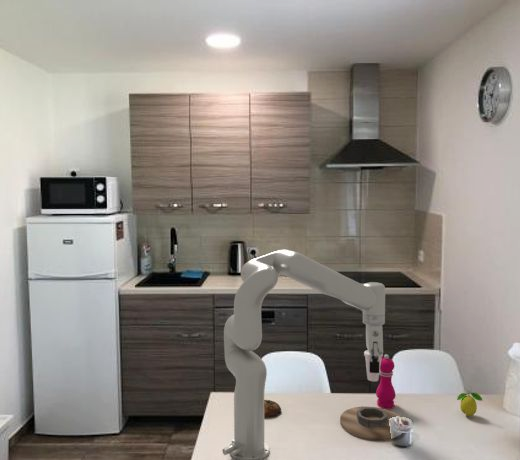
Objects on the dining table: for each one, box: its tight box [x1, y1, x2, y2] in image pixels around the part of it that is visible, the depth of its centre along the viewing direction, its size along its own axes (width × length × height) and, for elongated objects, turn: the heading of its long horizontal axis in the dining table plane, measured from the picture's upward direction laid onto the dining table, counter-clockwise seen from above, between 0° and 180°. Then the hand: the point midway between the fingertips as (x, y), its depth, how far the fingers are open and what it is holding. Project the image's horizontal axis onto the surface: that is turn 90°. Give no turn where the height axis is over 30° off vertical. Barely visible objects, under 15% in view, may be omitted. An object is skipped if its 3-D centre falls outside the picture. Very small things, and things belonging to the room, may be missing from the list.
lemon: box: [456, 391, 483, 417], centre depth 177 cm, size 7×6×10 cm
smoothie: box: [363, 349, 384, 382], centre depth 169 cm, size 6×6×14 cm
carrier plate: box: [339, 406, 399, 441], centre depth 171 cm, size 22×22×4 cm
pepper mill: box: [375, 353, 396, 410], centre depth 185 cm, size 7×7×20 cm
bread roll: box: [264, 399, 282, 418], centre depth 181 cm, size 11×11×5 cm
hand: (373, 368), depth 169 cm, fingers closed on smoothie, 5 cm apart
